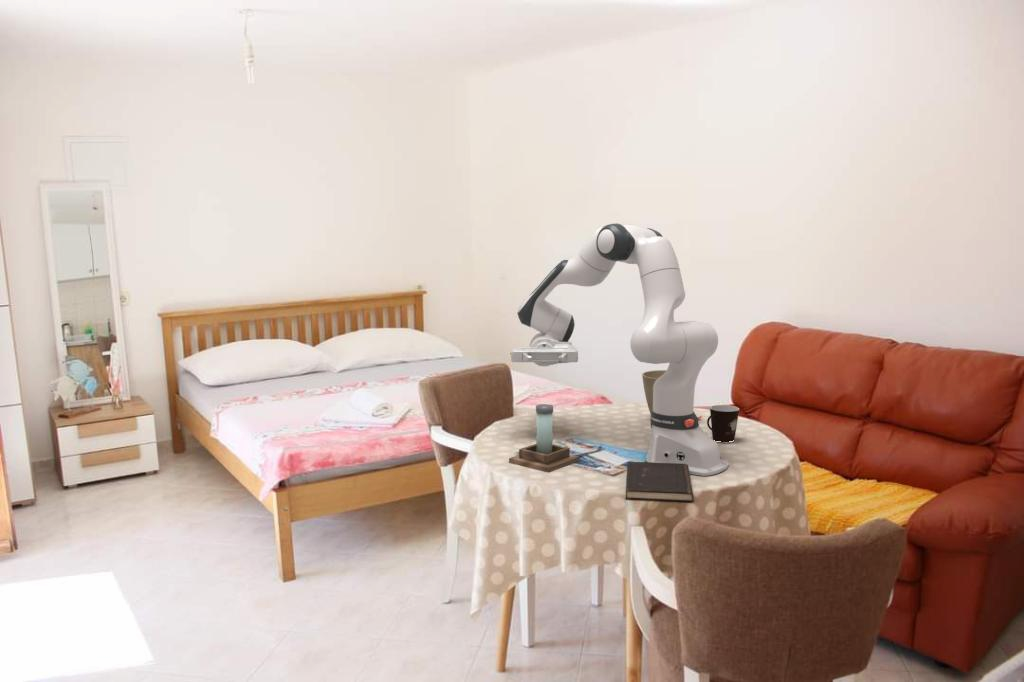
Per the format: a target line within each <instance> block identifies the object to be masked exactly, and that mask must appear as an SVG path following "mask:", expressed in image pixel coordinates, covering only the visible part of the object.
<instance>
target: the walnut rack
mask: <svg viewBox="0 0 1024 682" xmlns="http://www.w3.org/2000/svg"><path fill="white" fill-rule="evenodd" d="M570 450H571V449H570V447H566V446H561V445H557V444H553V443H552V453H549V454H543V453H538V452H537V443H534V444H531V445H528V446H525V447H521V448H520V449H518V454H517V455H515V456H512V457H509V458H508V463H510V464H514V465H518V466H521V467H525V468H530V469H534V470H537V471H542V472H546V473H550V472H553V471H556V470H560V469H561V468H564V467H566V466H570V465H571V464H575V463H577V462H579V460H580V458H581V457H580V456H579V455H576V454H575V455H574V454H570V453H571V452H570Z"/></svg>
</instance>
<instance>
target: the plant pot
mask: <svg viewBox="0 0 1024 682" xmlns="http://www.w3.org/2000/svg"><path fill="white" fill-rule="evenodd" d="M666 370H667V369H659V370H658V369H657V370H648V371H644V372H643V373H641V377H642V382H643V390H644V394H645V399H646V404H647V407H648V411H649V414H650V415H651V411H652V410H653V386H654V383H655V381H656V380H657V379H658V378H659V377H660V376H662V375H663V374H664V373H665V372H666Z"/></svg>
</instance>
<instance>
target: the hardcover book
mask: <svg viewBox="0 0 1024 682" xmlns="http://www.w3.org/2000/svg"><path fill="white" fill-rule="evenodd" d="M691 480H692V479H691V474H689V468H688V465H687V464H679V463H654V462H647V461H627V464H626V480H625V500H636V501H639V500H640V501H657V502H658V501H660V502H679V503H691V502H692V501H693V500H694V494H693V487H692V481H691Z"/></svg>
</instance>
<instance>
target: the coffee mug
mask: <svg viewBox="0 0 1024 682" xmlns="http://www.w3.org/2000/svg"><path fill="white" fill-rule="evenodd" d="M709 412H710V416H708V417H707V420H706V425H707V427H708V428H709V430H710V431H711V436H712V437H711V438H712V439H713V440H715V441H721V442H729V441H733V440H734V441H735V438H736V433H737V431H736V430H737V426H738V419H739V413H740V408H739V407H737V406H734V405H729V404H728V405H727V404H717V405H716V404H715V405H710V407H709Z"/></svg>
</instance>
